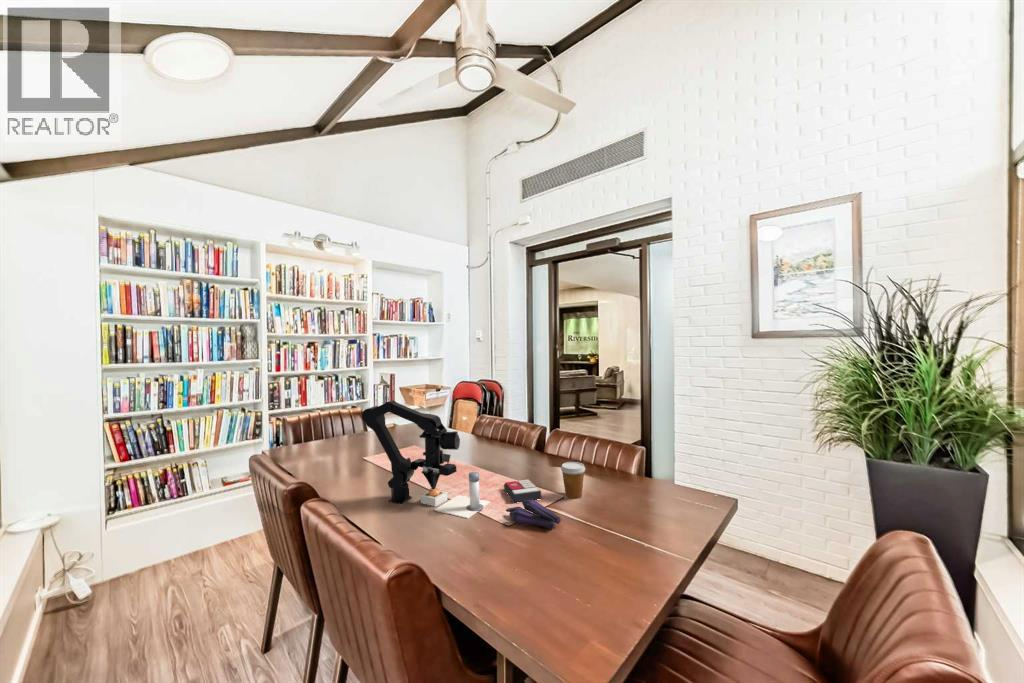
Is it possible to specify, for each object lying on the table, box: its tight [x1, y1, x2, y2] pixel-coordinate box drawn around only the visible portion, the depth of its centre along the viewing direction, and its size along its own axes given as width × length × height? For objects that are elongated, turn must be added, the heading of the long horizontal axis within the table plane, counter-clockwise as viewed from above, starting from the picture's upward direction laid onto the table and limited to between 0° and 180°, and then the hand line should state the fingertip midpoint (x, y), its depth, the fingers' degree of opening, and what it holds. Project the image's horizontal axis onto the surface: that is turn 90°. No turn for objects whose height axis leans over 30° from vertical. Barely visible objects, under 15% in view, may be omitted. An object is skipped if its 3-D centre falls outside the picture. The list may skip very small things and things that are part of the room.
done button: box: [427, 487, 441, 497], centre depth 157 cm, size 4×4×2 cm
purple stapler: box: [505, 499, 562, 530], centre depth 138 cm, size 7×12×20 cm
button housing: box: [420, 490, 448, 508], centre depth 157 cm, size 7×7×3 cm
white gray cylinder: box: [468, 471, 481, 509], centre depth 150 cm, size 4×4×12 cm
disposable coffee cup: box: [560, 461, 586, 500], centre depth 159 cm, size 10×10×12 cm
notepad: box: [434, 494, 491, 519], centre depth 152 cm, size 16×15×1 cm
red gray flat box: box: [503, 479, 542, 504], centre depth 162 cm, size 11×4×15 cm
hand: (433, 488), depth 157 cm, fingers closed
